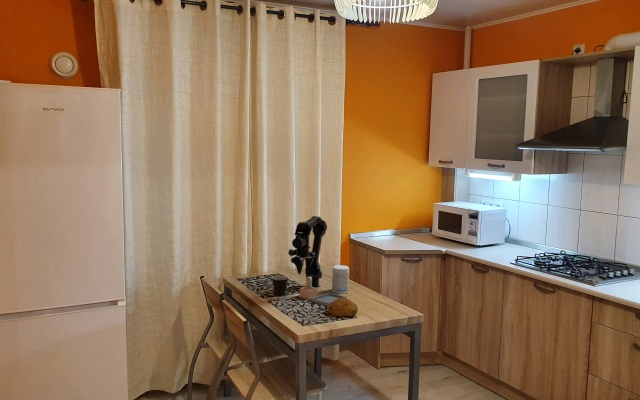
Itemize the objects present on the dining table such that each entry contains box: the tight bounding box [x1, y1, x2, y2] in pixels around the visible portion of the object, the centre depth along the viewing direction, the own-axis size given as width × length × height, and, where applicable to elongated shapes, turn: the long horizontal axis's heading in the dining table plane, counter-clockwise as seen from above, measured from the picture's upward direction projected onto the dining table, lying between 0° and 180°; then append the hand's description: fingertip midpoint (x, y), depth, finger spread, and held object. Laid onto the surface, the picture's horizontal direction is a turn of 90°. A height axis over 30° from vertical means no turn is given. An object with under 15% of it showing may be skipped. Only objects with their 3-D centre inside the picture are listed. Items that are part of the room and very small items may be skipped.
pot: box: [299, 286, 318, 300], centre depth 280 cm, size 7×7×6 cm
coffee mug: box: [271, 275, 289, 297], centre depth 284 cm, size 12×9×10 cm
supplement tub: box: [331, 264, 350, 294], centre depth 293 cm, size 10×10×15 cm
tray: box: [310, 292, 348, 307], centre depth 275 cm, size 16×12×2 cm
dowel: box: [305, 276, 312, 290], centre depth 280 cm, size 3×3×11 cm
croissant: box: [326, 298, 359, 318], centre depth 258 cm, size 14×16×8 cm
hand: (303, 272), depth 285 cm, fingers open, 9 cm apart
